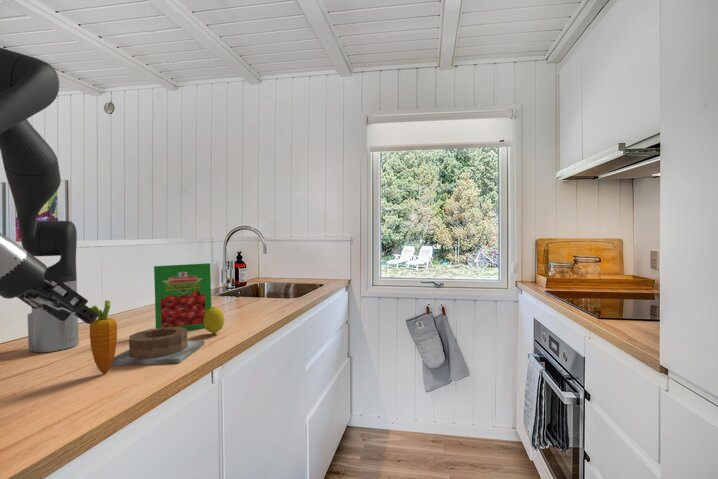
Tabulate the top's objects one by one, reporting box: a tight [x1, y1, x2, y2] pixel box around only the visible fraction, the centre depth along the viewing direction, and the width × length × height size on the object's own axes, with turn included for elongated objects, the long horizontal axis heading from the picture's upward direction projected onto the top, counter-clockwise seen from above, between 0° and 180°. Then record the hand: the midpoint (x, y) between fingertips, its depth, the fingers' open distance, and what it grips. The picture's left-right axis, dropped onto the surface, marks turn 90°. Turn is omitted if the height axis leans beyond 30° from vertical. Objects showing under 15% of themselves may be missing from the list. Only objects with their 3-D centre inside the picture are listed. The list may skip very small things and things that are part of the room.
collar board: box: [111, 327, 205, 367], centre depth 87 cm, size 16×14×5 cm
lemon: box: [204, 306, 225, 335], centre depth 104 cm, size 6×6×8 cm
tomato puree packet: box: [153, 262, 212, 331], centre depth 109 cm, size 15×1×20 cm, turn 118°
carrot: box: [89, 299, 118, 375], centre depth 74 cm, size 5×5×15 cm
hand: (80, 318), depth 70 cm, fingers open, 8 cm apart
